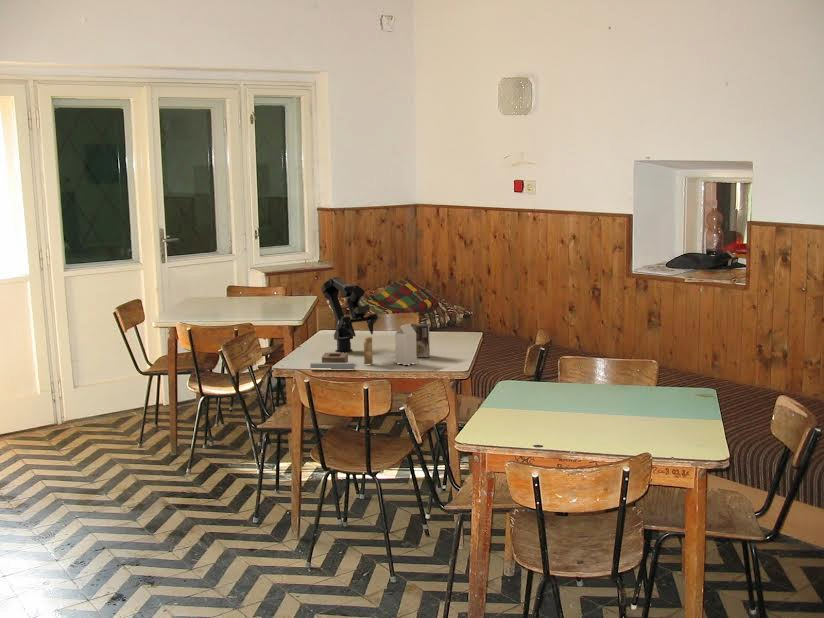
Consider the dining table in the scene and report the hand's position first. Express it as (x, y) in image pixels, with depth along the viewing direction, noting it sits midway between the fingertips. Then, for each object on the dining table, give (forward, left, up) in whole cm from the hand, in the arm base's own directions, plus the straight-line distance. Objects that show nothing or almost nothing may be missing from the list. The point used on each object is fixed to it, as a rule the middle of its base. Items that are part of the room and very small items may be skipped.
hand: (363, 335), depth 462 cm
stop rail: (+1, -24, -13) cm, 27 cm away
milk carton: (+21, +7, -13) cm, 25 cm away
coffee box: (+17, +23, -13) cm, 31 cm away
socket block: (-5, -15, -13) cm, 21 cm away
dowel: (+7, -5, -13) cm, 15 cm away
